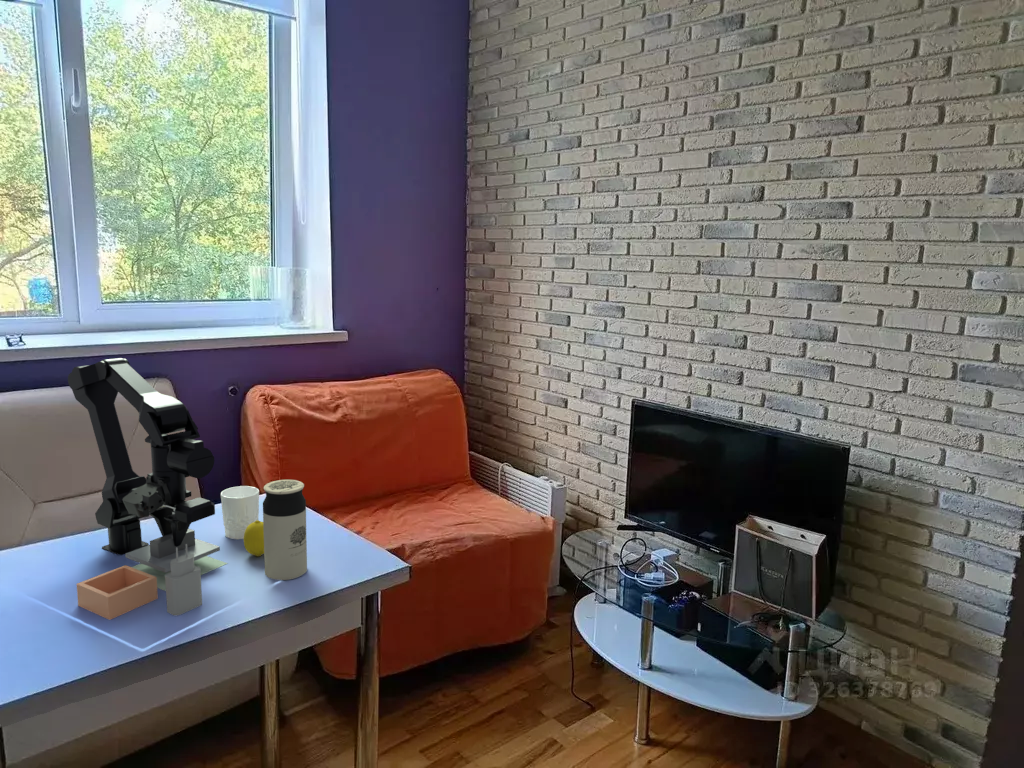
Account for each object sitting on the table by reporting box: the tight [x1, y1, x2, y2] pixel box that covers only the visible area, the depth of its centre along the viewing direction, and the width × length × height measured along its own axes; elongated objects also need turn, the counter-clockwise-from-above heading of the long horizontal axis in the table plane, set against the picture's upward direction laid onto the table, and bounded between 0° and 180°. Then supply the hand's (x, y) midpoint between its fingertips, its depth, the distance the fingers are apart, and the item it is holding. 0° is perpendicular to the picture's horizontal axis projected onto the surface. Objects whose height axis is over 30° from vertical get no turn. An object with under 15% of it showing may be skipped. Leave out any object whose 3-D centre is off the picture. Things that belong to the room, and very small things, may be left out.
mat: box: [131, 555, 229, 592], centre depth 142 cm, size 14×14×1 cm
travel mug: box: [262, 479, 308, 581], centre depth 141 cm, size 8×8×18 cm
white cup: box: [220, 485, 260, 540], centre depth 159 cm, size 8×8×10 cm
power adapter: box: [165, 544, 203, 617], centre depth 126 cm, size 3×5×12 cm, turn 149°
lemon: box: [243, 519, 264, 558], centre depth 148 cm, size 6×6×8 cm
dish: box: [75, 564, 159, 621], centre depth 128 cm, size 9×9×4 cm
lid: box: [124, 527, 221, 573], centre depth 141 cm, size 12×12×4 cm
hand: (173, 544), depth 141 cm, fingers closed on lid, 2 cm apart
